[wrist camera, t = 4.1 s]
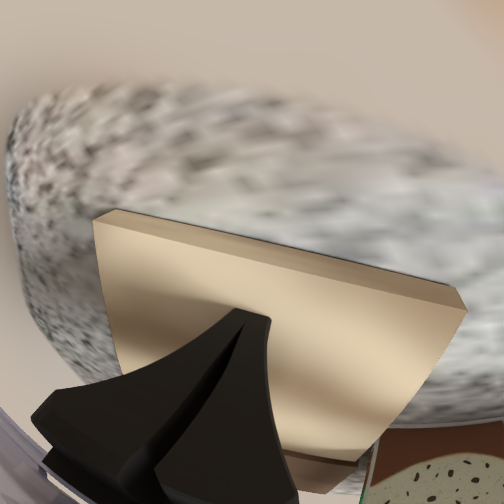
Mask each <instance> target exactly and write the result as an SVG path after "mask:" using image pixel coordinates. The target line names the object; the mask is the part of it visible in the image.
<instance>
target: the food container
mask: <svg viewBox="0 0 504 504" xmlns="http://www.w3.org/2000/svg"><path fill="white" fill-rule="evenodd" d="M359 504H504V416H501V417H495V418H488V419H480V420H472V421H462V422H449V423H429V424H390V426H389V427H388V428H387V429H386V430H385V431H384V432H383V433H382V435H381V436H380V437H379V438H378V439H377V440H376V441H375V442H374V443H373V444H372V448H371V453H370V458H369V463H368V468H367V473H366V477H365V481H364V486H363V490H362V494H361V497H360V501H359Z"/></svg>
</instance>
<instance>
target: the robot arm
mask: <svg viewBox="0 0 504 504" xmlns="http://www.w3.org/2000/svg"><path fill="white" fill-rule="evenodd" d="M271 323H272V320H271V318H270V317H268V316H264V315H260V314H257V313H253V312H249V311H246V310H242V309H239V308H234V309H232V310H231V311H230V312H229V313H228V314H226V315H225V316H224V317H223V318H222V319H220V320H219V321H218V322H217V323H215V324H214V325H213V326H211V327H210V328H209V329H207V330H206V331H205V332H203V333H202V334H200V335H199V336H198V337H196V338H195V339H193V340H192V341H190V342H189V343H187V344H185V345H184V346H182V347H181V348H179V349H177V350H176V351H174V352H172V353H170V354H169V355H167V356H165V357H163V358H161V359H159V360H157V361H155V362H153V363H151V364H149V365H147V366H144V367H142V368H139V369H137V370H135V371H132V372H129V373H127V374H124V375H121V376H118V377H115V378H111V379H108V380H104V381H101V382H97V383H93V384H89V385H84V386H78V387H72V388H66V389H58V390H55V391H54V392H53V393H52V394H51V395H50V396H49V397H48V398H47V399H46V400H45V401H44V402H43V403H42V405H40V407H39V408H38V409H37V410H36V411H35V412H34V413H33V414H32V416H31V421H32V423H33V424H34V426H35V427H36V428H37V429H38V431H39V432H40V433H41V434H42V435H43V436H44V437H45V439H46V440H47V441H48V442H49V443H50V444H51V445H52V446H53V448H52V449H51V450H50V451H49V452H48V453H47V452H46V451H45V450H44V449H43V448H41V447H40V446H39V445H38V444H37V443H36V442H35V441H34V440H33V439H31V438H30V437H29V436H28V435H27V434H26V433H25V432H24V431H23V430H22V429H21V428H20V427H19V426H18V425H17V424H16V423H15V422H14V421H13V420H12V419H11V418H10V417H9V416H8V415H7V414H6V413H5V412H4V410H3V409H2V408H1V407H0V504H79V503H78V502H77V501H76V500H74V499H73V498H72V497H70V496H69V495H68V494H66V493H65V492H64V491H62V490H61V489H59V488H58V487H57V486H55V485H54V484H53V483H51V482H50V481H49V480H48V479H47V473H46V472H48V473H49V474H50V475H51V476H52V477H54V478H55V479H56V480H58V481H59V482H60V483H61V484H62V485H64V486H65V487H66V488H68V489H69V490H70V491H72V492H73V493H74V494H76V495H77V496H78V497H80V498H81V499H83V500H84V501H86V502H87V503H89V504H299V497H298V491H297V489H296V486H295V484H294V481H293V479H292V476H291V474H290V471H289V468H288V466H287V463H286V460H285V457H284V453H283V450H282V447H281V443H280V439H279V436H278V432H277V428H276V424H275V420H274V415H273V410H272V404H271V398H270V391H269V382H268V369H267V342H268V337H269V332H270V327H271Z"/></svg>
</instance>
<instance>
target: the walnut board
mask: <svg viewBox="0 0 504 504" xmlns="http://www.w3.org/2000/svg"><path fill="white" fill-rule="evenodd" d="M282 450H283V453H284V457H285V460H286V463H287V466H288V468H289V471H290V474H291V476H292V479H293V481H294V484H295V486H296V489H297V490H300V491H306V492H312V493H319V494H326V493H328V492H329V491H330V490H332V489H333V488H334V487H335V486H337V485H338V484H339V483H340V482H341V481H343V480H344V479H345V478H346V477H347V476H349V475H350V474H351V473H352V472H353V471H354V470H355V469H357V468H358V461H359V458H358V459H357V460H356V461H355V462H354V461H346V460H339V459H332V458H326V457H320V456H314V455H309V454H304V453H299V452H295V451H290V450H286V449H282Z"/></svg>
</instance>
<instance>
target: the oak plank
mask: <svg viewBox="0 0 504 504" xmlns="http://www.w3.org/2000/svg"><path fill="white" fill-rule="evenodd" d="M92 221H93V231H94V240H95V248H96V255H97V262H98V269H99V275H100V281H101V286H102V292H103V297H104V302H105V307H106V312H107V316H108V321H109V325H110V329H111V333H112V337H113V341H114V345H115V349H116V353H117V356H118V360H119V363H120V367H121V370H122V374H123V375H124V374H127V373H129V372H132V371H135V370H137V369H139V368H142V367H144V366H147V365H149V364H151V363H153V362H155V361H157V360H159V359H161V358H163V357H165V356H167V355H169V354H170V353H172V352H174V351H176V350H177V349H179V348H181V347H182V346H184V345H185V344H187V343H189V342H190V341H192V340H193V339H195V338H196V337H198V336H199V335H200V334H202V333H203V332H205V331H206V330H207V329H209V328H210V327H211V326H213V325H214V324H215V323H217V322H218V321H219V320H220V319H222V318H223V317H224V316H225V315H226V314H228V313H229V312H230V311H231V310H232V309H234V308H239V309H242V310H246V311H249V312H253V313H257V314H260V315H264V316H268V317H270V318H271V320H272V323H271V327H270V332H269V337H268V342H267V369H268V382H269V391H270V398H271V404H272V410H273V415H274V420H275V424H276V428H277V432H278V436H279V439H280V443H281V447H282V449H286V450H290V451H295V452H299V453H304V454H309V455H314V456H320V457H326V458H332V459H339V460H346V461H354V462H355V461H356V460H357V459H358V458H359V457H361V456H362V455H363V454H364V453H365V451H366V450H367V449H368V448H369V447H370V446H371V445H372V444H373V443H374V442H375V441H376V440H377V439H378V438H379V437H380V436H381V435H382V433H383V432H384V431H385V430H386V429H387V428H388V427H389V426H390V424H391V423H392V422H393V421H394V420H395V419H396V417H397V416H398V415H399V414H400V413H401V411H402V410H403V409H404V408H405V406H406V405H407V404H408V403H409V401H410V400H411V399H412V397H413V396H414V395H415V393H416V392H417V391H418V389H419V388H420V387H421V385H422V384H423V383H424V381H425V380H426V378H427V377H428V375H429V374H430V373H431V371H432V370H433V368H434V367H435V365H436V364H437V362H438V361H439V359H440V358H441V356H442V354H443V353H444V351H445V350H446V348H447V346H448V345H449V343H450V341H451V340H452V338H453V336H454V335H455V333H456V331H457V329H458V328H459V326H460V324H461V322H462V320H463V318H464V317H465V315H466V313H467V311H468V310H467V309H466V307H465V305H464V303H463V301H462V299H461V297H460V295H459V294H458V292H457V290H456V288H454V287H450V286H446V285H442V284H438V283H434V282H430V281H426V280H422V279H418V278H414V277H410V276H406V275H402V274H398V273H394V272H390V271H386V270H382V269H378V268H374V267H369V266H365V265H361V264H357V263H353V262H349V261H344V260H340V259H336V258H332V257H328V256H323V255H319V254H315V253H311V252H306V251H302V250H298V249H293V248H289V247H285V246H280V245H276V244H272V243H267V242H263V241H259V240H254V239H250V238H245V237H241V236H236V235H232V234H228V233H223V232H219V231H214V230H210V229H205V228H201V227H196V226H192V225H187V224H182V223H178V222H173V221H169V220H164V219H159V218H155V217H150V216H146V215H141V214H136V213H131V212H127V211H122V210H117V209H115V210H113V211H111V212H109V213H107V214H105V215H102V216H100V217H98V218H96V219H94V220H92Z"/></svg>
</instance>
